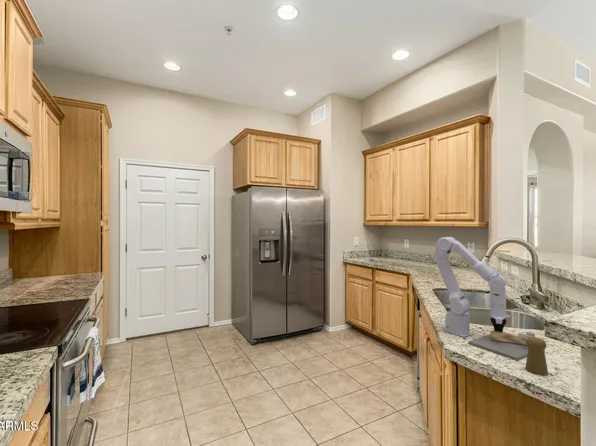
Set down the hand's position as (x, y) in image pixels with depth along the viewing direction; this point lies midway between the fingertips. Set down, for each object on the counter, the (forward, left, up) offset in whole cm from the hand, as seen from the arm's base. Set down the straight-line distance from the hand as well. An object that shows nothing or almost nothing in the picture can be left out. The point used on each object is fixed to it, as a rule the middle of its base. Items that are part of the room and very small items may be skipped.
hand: (498, 336), depth 126 cm
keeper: (+11, -1, -1) cm, 11 cm away
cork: (+20, -16, -3) cm, 26 cm away
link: (+5, +1, -1) cm, 5 cm away
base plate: (+4, -3, -2) cm, 6 cm away
